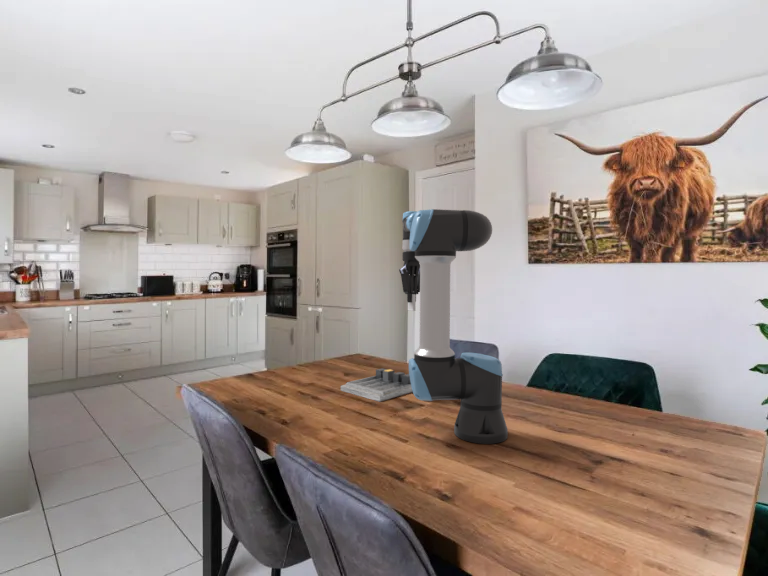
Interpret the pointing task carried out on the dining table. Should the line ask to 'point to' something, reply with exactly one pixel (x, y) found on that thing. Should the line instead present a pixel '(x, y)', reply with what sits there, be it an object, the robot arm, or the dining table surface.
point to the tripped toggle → (388, 375)
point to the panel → (379, 386)
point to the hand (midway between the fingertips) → (411, 310)
